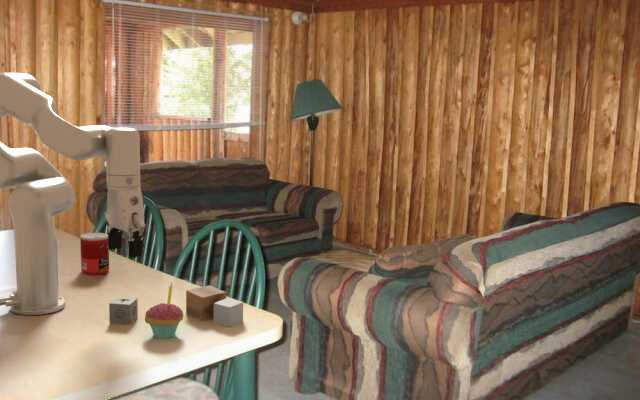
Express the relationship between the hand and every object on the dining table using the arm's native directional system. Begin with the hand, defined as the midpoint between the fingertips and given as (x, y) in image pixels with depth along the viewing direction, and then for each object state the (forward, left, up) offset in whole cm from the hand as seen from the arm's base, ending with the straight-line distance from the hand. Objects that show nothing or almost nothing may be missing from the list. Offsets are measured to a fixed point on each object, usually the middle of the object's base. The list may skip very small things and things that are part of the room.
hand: (125, 252), depth 164 cm
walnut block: (+17, -9, -17) cm, 25 cm away
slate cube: (+18, -17, -16) cm, 30 cm away
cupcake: (+2, -15, -17) cm, 22 cm away
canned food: (+12, +41, -17) cm, 46 cm away
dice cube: (-1, -1, -17) cm, 17 cm away
